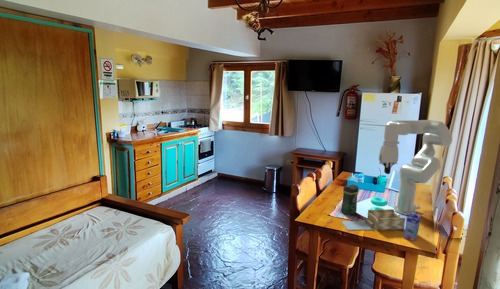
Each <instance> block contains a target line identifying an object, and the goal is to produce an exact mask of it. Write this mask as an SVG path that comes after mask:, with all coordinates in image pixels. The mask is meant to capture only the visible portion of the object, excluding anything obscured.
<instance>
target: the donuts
mask: <svg viewBox="0 0 500 289" xmlns="http://www.w3.org/2000/svg"><path fill="white" fill-rule="evenodd" d="M370 202H371V203H372V205H374V206H373V207H371V208H370V209H369V210H384V209H385V208H383V207H385V206H387V205H388V203H389V201H388V200H387V199H386V198H383V197H380V196H379V197H378V196H373V197H372V198H370Z"/></svg>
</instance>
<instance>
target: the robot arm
mask: <svg viewBox="0 0 500 289" xmlns="http://www.w3.org/2000/svg"><path fill="white" fill-rule="evenodd" d="M384 126H385V127H384V132H383V133H384V135H383V145H382V144H381V146H380V150H379V153H378V154H379V155H378V161H379V164H380V165H383V167H384V170H383V171H384V174H386V175H390V174H391V170H392V168H393V166H394V165H398V161H399V146H398V145H400V141H399V136H408V135H410V134H411V135H420V134H421V135H422V146H421V149H420V150H419V151H418V152H417V153H416V154H415V155H414V156H413V158H412V159H411V161H410V162H411V163H410V164H409V163H406V164H402V165H401V166H400V168H399V188H398V196H397V205H395V206H394V207H393V209H394V212H395V213H398V214H401V215H407V216H409V215H410V213H411V212H412V213H416V210H420V209H421V206H420V205H418V206H417V205H416V204H415V199H416V192H417V184H416V183H418V184H422V185H423V184H426V183H428V182H429V180H431V179H432V178H433V176H434V175H435V174H436V173H437V172H438V170H439V169H440V165H441V161H440V159H439V158H438V157H436V156H435V154H436V150H435V148H434V146H440V147H449V146H451V144H452V142H453V136H452V133H451V131H450V130H449V128H448V126H447V125H446V124H445V122H443V121H439V120H433V119H420V120H419V119H418V120H399V119H398V120H390V121H388V122H387V123H385V125H384Z"/></svg>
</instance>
